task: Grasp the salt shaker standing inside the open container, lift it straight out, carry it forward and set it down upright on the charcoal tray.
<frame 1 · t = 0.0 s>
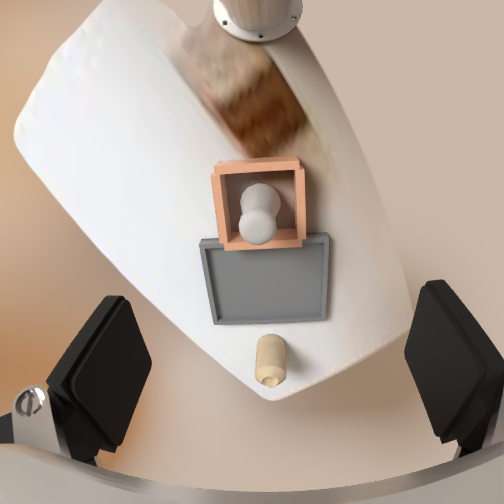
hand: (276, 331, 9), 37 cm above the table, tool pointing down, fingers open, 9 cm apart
salt shaker: (260, 198, 45), resting in open container
candle: (271, 343, 57), on the table
open container: (260, 198, 45), on the table
tray: (266, 279, 51), on the table
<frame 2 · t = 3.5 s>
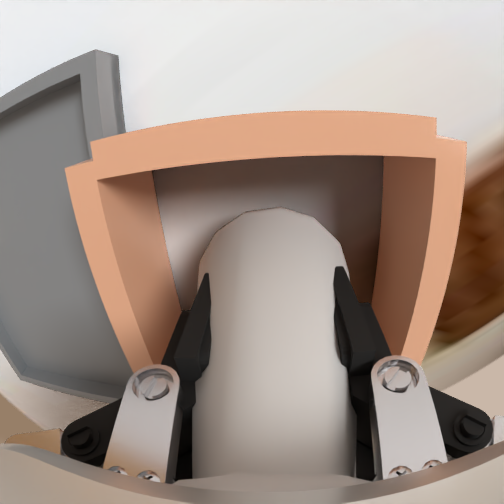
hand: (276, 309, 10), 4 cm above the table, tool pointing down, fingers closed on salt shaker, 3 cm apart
salt shaker: (273, 252, 14), resting in open container, touching gripper
open container: (273, 254, 14), on the table
tray: (40, 265, 15), on the table
when the fingers open (6 cm above the table, at t = 8.7 s): salt shaker drops 1 cm, resting on tray.
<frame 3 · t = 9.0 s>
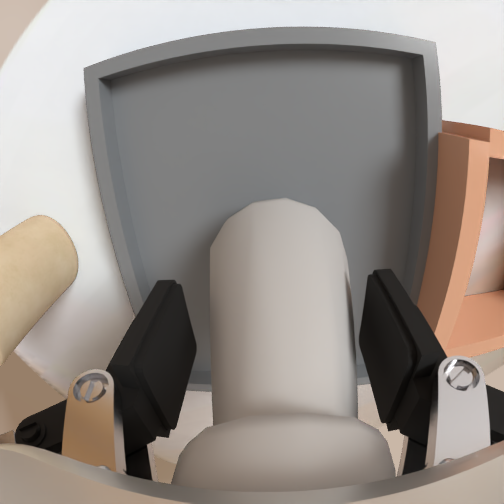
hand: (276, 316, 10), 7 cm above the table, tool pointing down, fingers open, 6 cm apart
salt shaker: (277, 241, 15), point 1 cm above the table, touching tray
candle: (50, 250, 17), on the table
open container: (490, 228, 14), on the table
tray: (274, 237, 16), on the table
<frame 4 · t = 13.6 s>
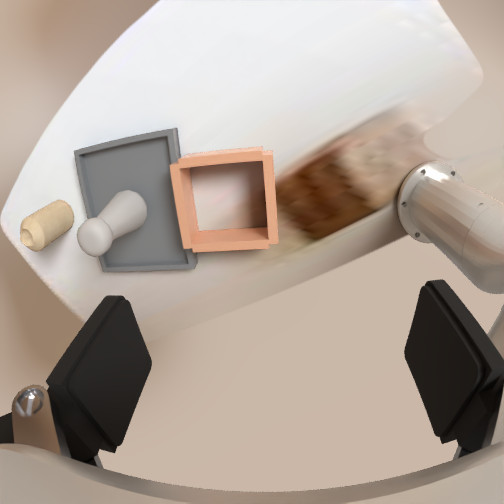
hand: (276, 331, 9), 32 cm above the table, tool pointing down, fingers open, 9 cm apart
salt shaker: (135, 205, 41), point 1 cm above the table, touching tray
candle: (63, 214, 43), on the table
open container: (229, 194, 40), on the table
tray: (136, 204, 41), on the table
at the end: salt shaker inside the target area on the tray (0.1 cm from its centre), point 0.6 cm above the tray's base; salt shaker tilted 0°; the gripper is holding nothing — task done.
